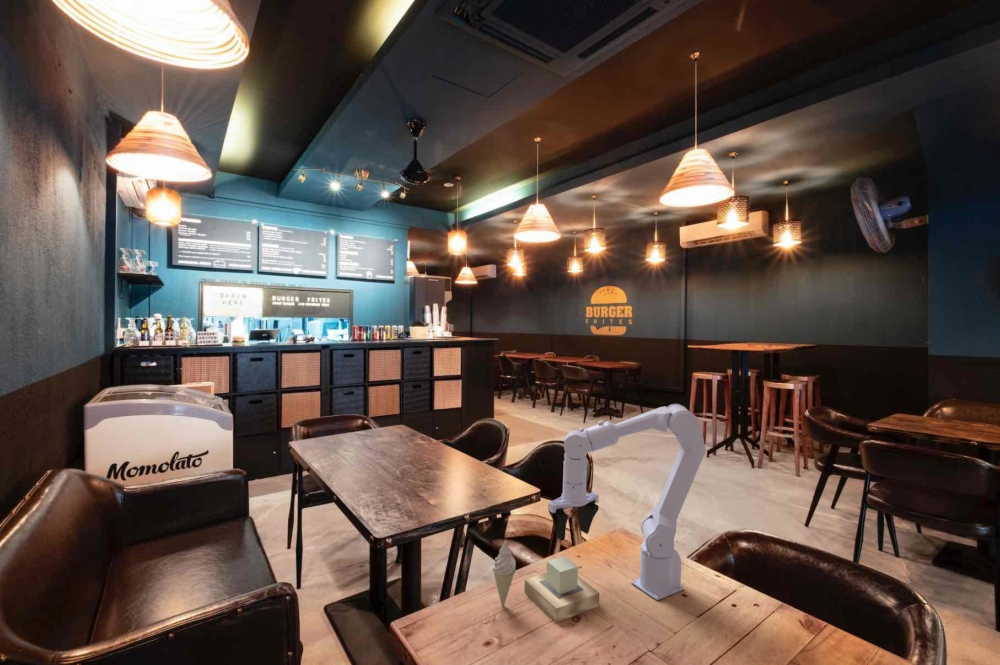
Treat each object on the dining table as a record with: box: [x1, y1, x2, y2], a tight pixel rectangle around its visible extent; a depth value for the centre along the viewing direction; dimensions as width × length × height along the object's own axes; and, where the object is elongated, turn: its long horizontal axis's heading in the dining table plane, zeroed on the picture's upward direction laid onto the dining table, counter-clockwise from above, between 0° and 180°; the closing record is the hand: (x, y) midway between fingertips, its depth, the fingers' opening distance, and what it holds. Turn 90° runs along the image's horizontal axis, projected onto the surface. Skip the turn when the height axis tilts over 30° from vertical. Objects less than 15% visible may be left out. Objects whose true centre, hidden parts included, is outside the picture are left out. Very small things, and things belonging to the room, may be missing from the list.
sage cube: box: [546, 555, 579, 594], centre depth 102 cm, size 5×5×5 cm
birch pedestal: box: [523, 572, 600, 623], centre depth 103 cm, size 12×12×3 cm
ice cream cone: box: [492, 538, 517, 607], centre depth 99 cm, size 5×5×15 cm
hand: (572, 535), depth 112 cm, fingers open, 7 cm apart
